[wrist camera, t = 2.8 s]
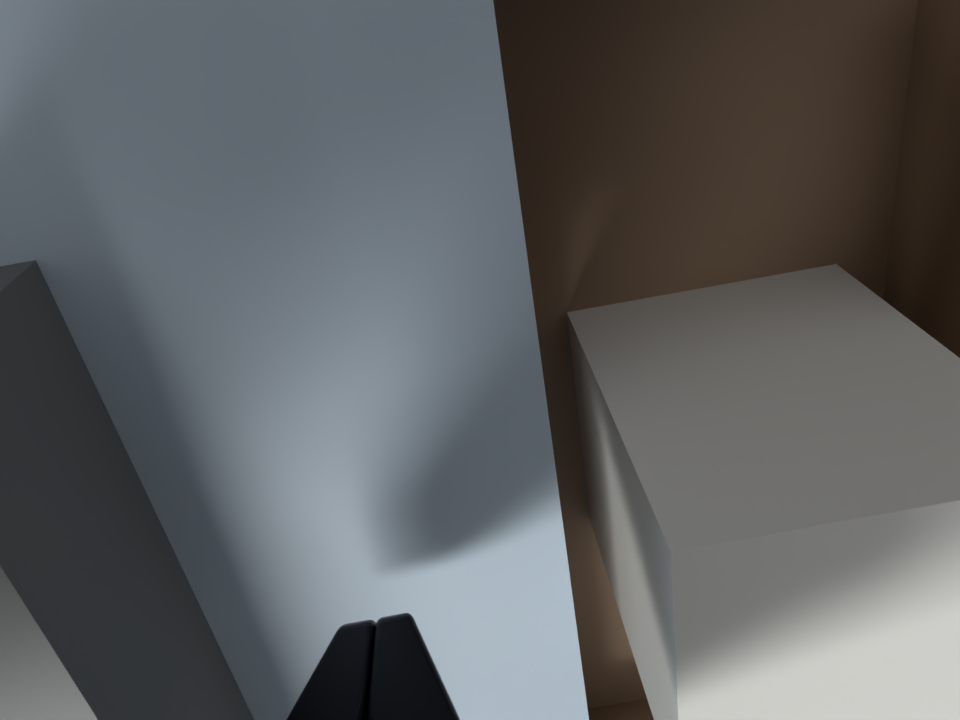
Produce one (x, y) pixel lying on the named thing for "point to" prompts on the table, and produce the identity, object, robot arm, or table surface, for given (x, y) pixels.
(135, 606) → the lid
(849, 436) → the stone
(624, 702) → the bins
